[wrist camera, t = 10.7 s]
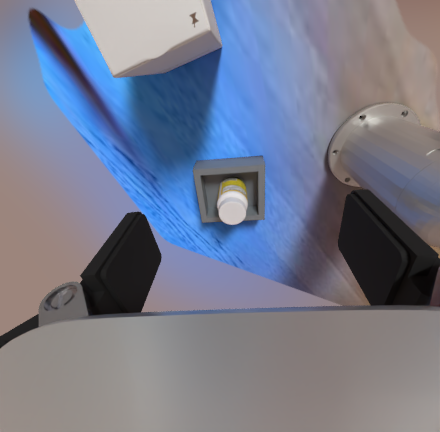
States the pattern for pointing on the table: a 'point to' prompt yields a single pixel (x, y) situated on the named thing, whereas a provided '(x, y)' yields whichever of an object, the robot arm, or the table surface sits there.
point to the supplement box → (150, 33)
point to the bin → (221, 168)
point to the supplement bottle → (232, 200)
